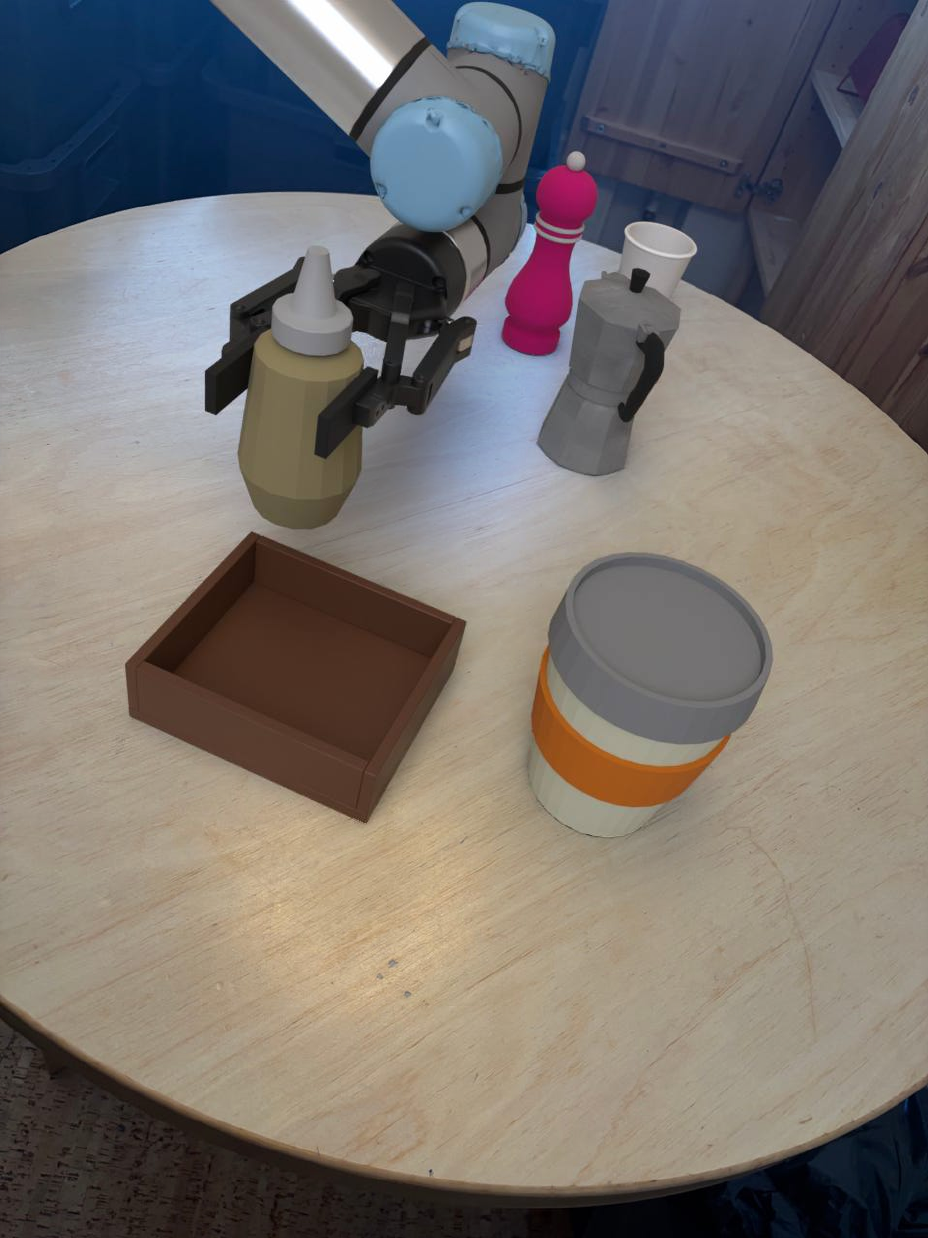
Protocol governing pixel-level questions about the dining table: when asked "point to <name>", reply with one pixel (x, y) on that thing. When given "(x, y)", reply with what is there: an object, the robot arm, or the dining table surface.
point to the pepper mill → (550, 260)
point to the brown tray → (297, 673)
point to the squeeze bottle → (300, 404)
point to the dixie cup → (657, 254)
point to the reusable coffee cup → (640, 688)
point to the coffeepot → (608, 371)
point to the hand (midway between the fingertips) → (266, 414)
